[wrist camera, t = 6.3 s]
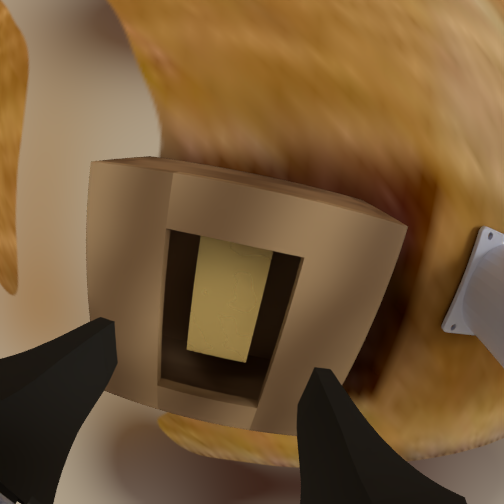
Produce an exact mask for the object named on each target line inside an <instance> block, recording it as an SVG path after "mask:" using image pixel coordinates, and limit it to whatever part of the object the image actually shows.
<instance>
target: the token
mask: <svg viewBox="0 0 504 504" xmlns="http://www.w3.org/2000/svg"><path fill="white" fill-rule="evenodd" d="M272 255H273V251H271V250H266V249H262V248H257V247H252V246H247V245H243V244H238V243H233V242H229V241H224V240H219V239H214V238H210V237H205V236H201V238H200V244H199V251H198V258H197V265H196V273H195V280H194V288H193V296H192V304H191V313H190V322H189V331H188V341H187V350H191V351H195V352H199V353H203V354H207V355H212V356H216V357H221V358H225V359H230V360H235V361H240V362H245V363H246V360H247V356H248V352H249V348H250V344H251V340H252V336H253V332H254V328H255V324H256V320H257V316H258V312H259V308H260V304H261V300H262V296H263V292H264V288H265V284H266V280H267V275H268V271H269V267H270V263H271V259H272Z"/></svg>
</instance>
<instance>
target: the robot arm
mask: <svg viewBox="0 0 504 504" xmlns="http://www.w3.org/2000/svg"><path fill="white" fill-rule="evenodd" d="M489 233H490V235H489ZM488 235H489V237H488ZM452 325H453V326H452ZM451 326H452V327H451ZM441 328H442V329H443V331H444V332H448V333H457V334H467V335H476V336H477V337H478V339H479V340H480V341H481V342H482V343H483V344H484V345H485V347H486V348H487V349H488V350H489V351H490V352H491V354H492V355H493V356H494V357H495V358H496V360H497V361H498V362H499V363H500V364H501V366H502V367H503V368H504V234H502V233H500V232H498V231H496V230H493V229H491V228H489V227H487V226H482V227H481V228H480V230H479V233H478V236H477V239H476V242H475V245H474V248H473V251H472V254H471V257H470V259H469V262H468V265H467V268H466V270H465V273H464V275H463V278H462V280H461V283H460V285H459V288H458V290H457V292H456V295H455V297H454V299H453V302H452V304H451V306H450V308H449V310H448V313H447V315H446V317H445V319H444V321H443V323H442V326H441ZM117 364H118V360H117V349H116V336H115V321H112V320H109V319H106V318H103V317H99V318H97V319H95V320H92V321H90V322H88V323H86V324H84V325H82V326H80V327H78V328H76V329H74V330H72V331H70V332H68V333H66V334H64V335H62V336H60V337H58V338H56V339H54V340H52V341H49V342H47V343H44V344H42V345H40V346H38V347H35V348H33V349H30V350H28V351H25V352H22V353H19V354H16V355H13V356H9V357H6V358H2V359H0V504H16V502H17V501H18V502H19V503H21V504H53V502H54V498H55V493H56V489H57V486H58V483H59V479H60V476H61V473H62V470H63V467H64V464H65V462H66V459H67V456H68V454H69V451H70V449H71V446H72V444H73V442H74V440H75V437H76V435H77V433H78V431H79V429H80V428H81V426H82V424H83V423H84V421H85V419H86V418H87V416H88V415H89V413H90V411H91V410H92V408H93V407H94V405H95V403H96V402H97V401H98V399H99V397H100V396H101V394H102V393H103V391H104V390H105V388H106V386H107V385H108V383H109V381H110V379H111V377H112V375H113V372H114V370H115V368H116V366H117ZM296 429H297V441H298V452H299V463H300V475H301V500H300V504H467V503H466V500H465V497H463V496H460V495H458V494H456V493H454V492H452V491H450V490H448V489H446V488H444V487H442V486H441V485H439V484H437V483H435V482H434V481H432V480H431V479H429V478H428V477H426V476H425V475H423V474H422V473H420V472H419V471H418V470H416V469H415V468H414V467H413V466H411V465H410V464H409V463H408V462H406V461H405V460H404V459H403V458H402V457H401V456H399V455H398V454H397V453H396V452H395V451H394V450H393V449H392V448H391V447H390V446H389V445H388V444H387V443H386V442H385V441H384V440H383V439H382V438H381V437H380V435H379V434H378V433H377V432H376V431H375V430H374V428H373V427H372V426H371V425H370V424H369V422H368V421H367V420H366V419H365V417H364V416H363V415H362V413H361V412H360V411H359V409H358V408H357V407H356V405H355V404H354V402H353V401H352V400H351V398H350V397H349V395H348V394H347V392H346V391H345V389H344V388H343V386H342V385H341V383H340V382H339V380H338V379H337V377H336V376H335V374H334V373H333V372H332V370H331V369H326V368H318V367H314V369H313V372H312V374H311V376H310V378H309V381H308V383H307V385H306V387H305V389H304V392H303V394H302V396H301V398H300V400H299V402H298V404H297V427H296Z"/></svg>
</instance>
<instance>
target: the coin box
mask: <svg viewBox="0 0 504 504" xmlns="http://www.w3.org/2000/svg"><path fill="white" fill-rule="evenodd" d="M407 228H408V226H406V225H404V224H403V223H401V222H399V221H398V220H396V219H394V218H393V217H391V216H389V215H388V214H386V213H384V212H382V211H381V210H379V209H377V208H375V207H374V206H372V205H370V204H368V203H367V202H365V201H363V200H360V199H357V198H353V197H349V196H346V195H342V194H338V193H334V192H331V191H327V190H323V189H319V188H315V187H311V186H307V185H302V184H298V183H294V182H290V181H285V180H281V179H276V178H272V177H267V176H262V175H257V174H252V173H247V172H242V171H237V170H232V169H227V168H221V167H216V166H210V165H204V164H198V163H192V162H186V161H179V160H173V159H166V158H159V157H151V156H149V157H134V158H123V159H112V160H103V161H93V162H91V167H90V176H89V189H88V203H87V228H86V229H87V231H86V233H87V234H86V258H87V259H86V261H87V286H88V301H89V313H90V321H92V320H95V319H97V318H99V317H103V318H106V319H109V320H112V321H115V336H116V349H117V360H118V364H117V366H116V368H115V370H114V372H113V375H112V377H111V379H110V381H109V383H108V385H107V386H106V388H105V390H104V391H107V392H109V393H112V394H114V395H117V396H120V397H123V398H125V399H128V400H131V401H134V402H137V403H140V404H143V405H147V406H149V407H153V408H156V409H160V410H163V411H166V412H170V413H173V414H177V415H181V416H184V417H188V418H192V419H197V420H201V421H205V422H210V423H214V424H219V425H224V426H229V427H235V428H240V429H246V430H253V431H259V432H266V433H274V434H283V435H292V436H297V429H296V427H297V404H298V402H299V400H300V398H301V396H302V394H303V392H304V389H305V387H306V385H307V383H308V381H309V378H310V376H311V374H312V372H313V369H314V367H318V368H326V369H331V370H332V372H333V373H334V374H335V376H336V377H337V379H338V380H339V382H340V383H341V385H342V384H343V382H344V381H345V379H346V377H347V375H348V373H349V371H350V369H351V367H352V365H353V363H354V361H355V359H356V357H357V355H358V353H359V351H360V349H361V347H362V345H363V342H364V340H365V338H366V336H367V334H368V331H369V329H370V327H371V325H372V322H373V320H374V318H375V316H376V313H377V311H378V308H379V306H380V304H381V301H382V299H383V296H384V294H385V291H386V288H387V286H388V283H389V281H390V278H391V275H392V273H393V270H394V267H395V264H396V261H397V259H398V256H399V253H400V250H401V247H402V244H403V241H404V237H405V234H406V231H407ZM201 236H205V237H210V238H214V239H219V240H224V241H229V242H233V243H238V244H243V245H247V246H252V247H257V248H262V249H266V250H271V251H273V255H272V259H271V263H270V267H269V271H268V275H267V280H266V284H265V288H264V292H263V296H262V300H261V304H260V308H259V312H258V316H257V320H256V324H255V328H254V332H253V336H252V340H251V344H250V348H249V352H248V356H247V360H246V363H245V362H240V361H235V360H230V359H225V358H221V357H216V356H212V355H207V354H203V353H199V352H195V351H191V350H187V341H188V331H189V322H190V313H191V304H192V296H193V288H194V280H195V273H196V265H197V258H198V251H199V244H200V238H201Z"/></svg>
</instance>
